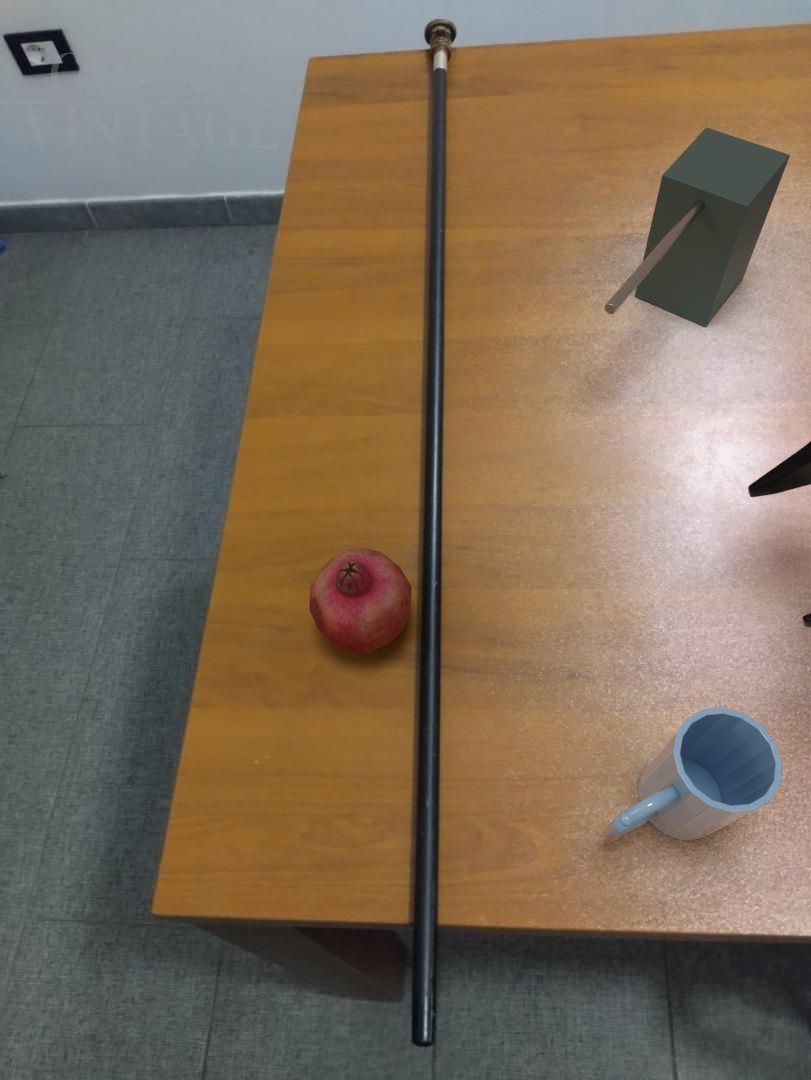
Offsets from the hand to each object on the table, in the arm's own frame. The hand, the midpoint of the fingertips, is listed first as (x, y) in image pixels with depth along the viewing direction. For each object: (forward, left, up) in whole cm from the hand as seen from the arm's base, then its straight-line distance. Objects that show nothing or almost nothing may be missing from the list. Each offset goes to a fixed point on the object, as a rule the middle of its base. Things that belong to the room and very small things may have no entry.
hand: (774, 553), depth 46 cm
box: (+4, -33, -15) cm, 36 cm away
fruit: (+28, +1, -15) cm, 32 cm away
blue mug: (+4, +13, -15) cm, 21 cm away
